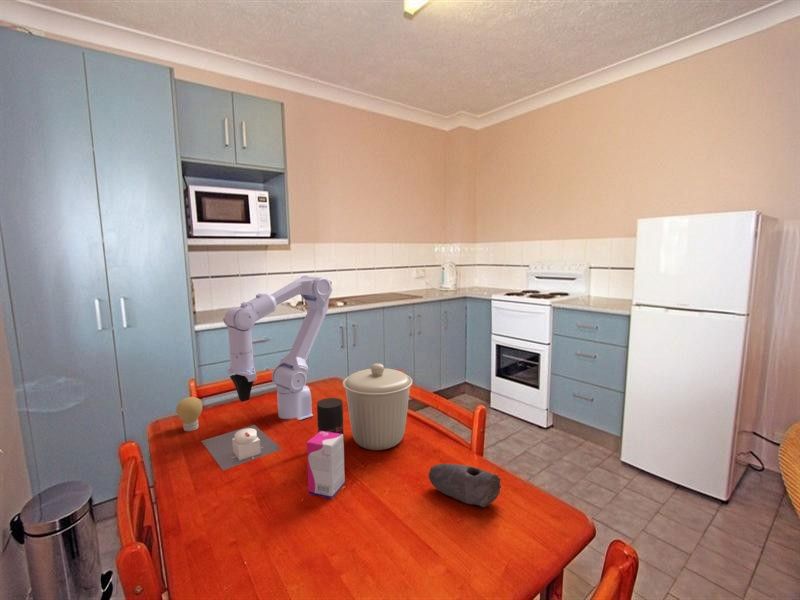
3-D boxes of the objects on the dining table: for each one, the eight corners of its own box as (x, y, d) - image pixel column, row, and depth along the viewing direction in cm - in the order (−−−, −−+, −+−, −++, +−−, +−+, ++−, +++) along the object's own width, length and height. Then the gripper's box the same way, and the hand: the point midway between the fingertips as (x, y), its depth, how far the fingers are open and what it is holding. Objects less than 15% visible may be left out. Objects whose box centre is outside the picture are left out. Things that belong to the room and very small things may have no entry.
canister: (401, 421, 114) (401, 352, 111) (421, 452, 97) (421, 371, 94) (340, 429, 109) (338, 357, 106) (349, 463, 92) (347, 378, 89)
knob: (233, 452, 95) (231, 431, 94) (253, 445, 98) (252, 425, 97) (239, 460, 91) (238, 439, 91) (260, 453, 94) (259, 432, 94)
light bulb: (209, 427, 111) (206, 393, 110) (195, 438, 105) (192, 402, 104) (188, 426, 112) (185, 393, 110) (173, 437, 105) (170, 402, 104)
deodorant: (349, 459, 94) (347, 400, 92) (334, 472, 88) (333, 409, 86) (328, 454, 96) (326, 396, 94) (313, 466, 91) (311, 405, 89)
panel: (254, 428, 110) (253, 414, 109) (282, 453, 97) (281, 436, 96) (201, 445, 101) (200, 429, 100) (223, 475, 87) (222, 456, 87)
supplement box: (345, 483, 84) (344, 433, 83) (332, 499, 79) (330, 446, 77) (322, 478, 86) (320, 429, 85) (307, 494, 80) (305, 442, 79)
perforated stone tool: (423, 492, 81) (423, 461, 80) (434, 479, 85) (435, 450, 84) (492, 518, 73) (493, 484, 72) (501, 503, 77) (502, 470, 76)
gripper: (217, 349, 106) (220, 396, 108) (235, 360, 95) (238, 412, 97) (243, 344, 111) (246, 390, 113) (263, 354, 100) (266, 405, 102)
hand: (244, 400), depth 105 cm, fingers closed
